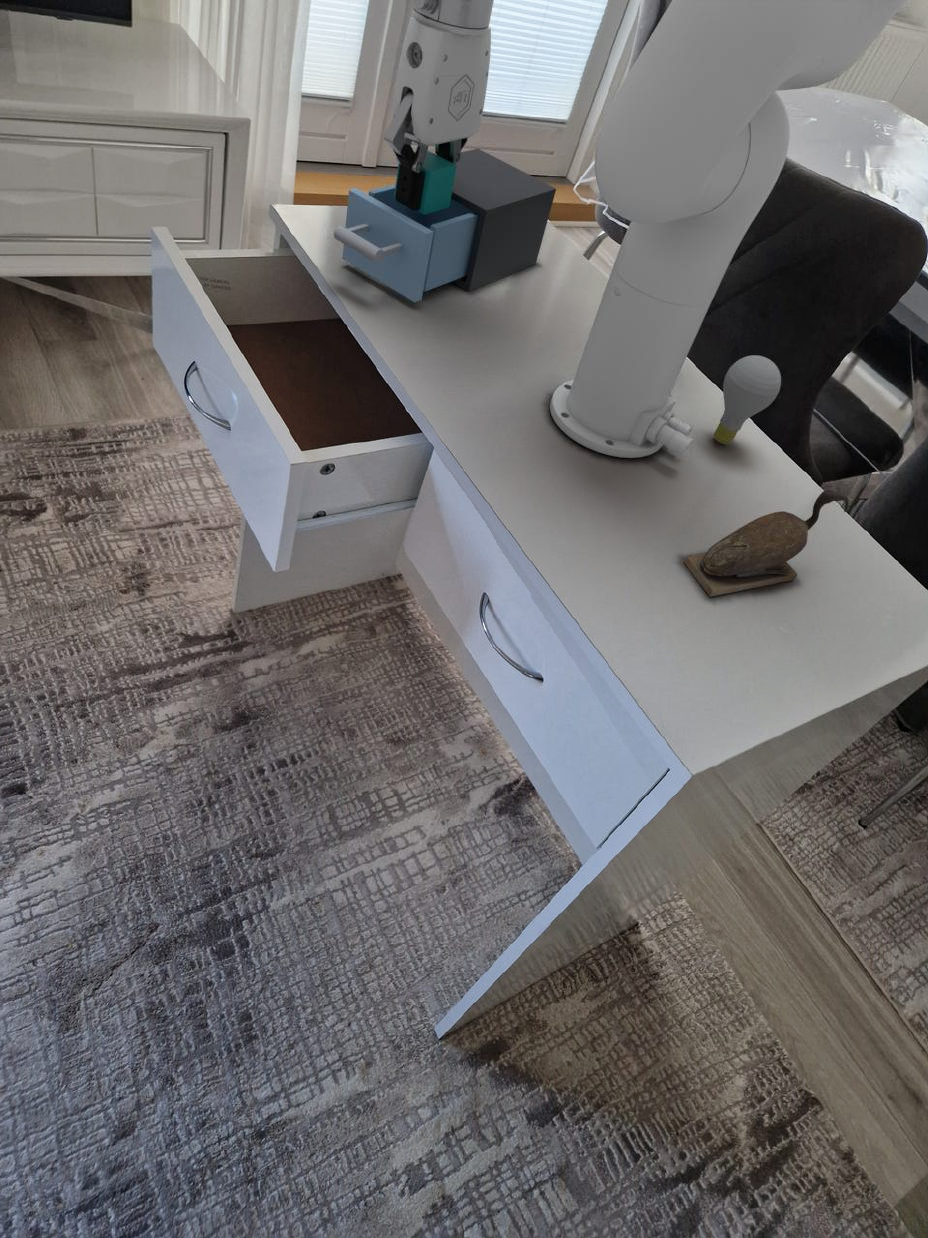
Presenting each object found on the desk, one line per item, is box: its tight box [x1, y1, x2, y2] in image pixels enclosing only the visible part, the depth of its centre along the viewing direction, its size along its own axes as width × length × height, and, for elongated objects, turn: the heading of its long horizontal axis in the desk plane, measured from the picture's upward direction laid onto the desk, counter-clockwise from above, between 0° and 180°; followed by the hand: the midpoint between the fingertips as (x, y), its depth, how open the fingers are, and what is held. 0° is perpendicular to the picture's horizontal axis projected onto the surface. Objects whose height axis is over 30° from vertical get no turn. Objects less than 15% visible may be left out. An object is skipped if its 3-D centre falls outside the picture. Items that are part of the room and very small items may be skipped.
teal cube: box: [394, 149, 457, 215], centre depth 90 cm, size 4×4×4 cm
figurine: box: [683, 489, 850, 597], centre depth 71 cm, size 14×4×9 cm, turn 113°
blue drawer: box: [333, 183, 480, 303], centre depth 93 cm, size 18×11×8 cm, turn 141°
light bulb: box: [713, 354, 782, 445], centre depth 84 cm, size 5×6×10 cm
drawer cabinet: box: [451, 148, 557, 292], centre depth 101 cm, size 15×13×10 cm
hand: (422, 199), depth 91 cm, fingers closed on teal cube, 4 cm apart
